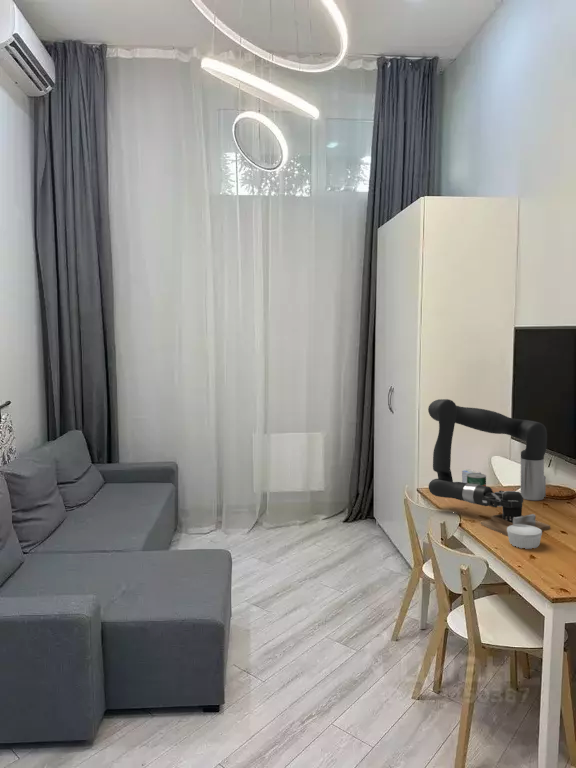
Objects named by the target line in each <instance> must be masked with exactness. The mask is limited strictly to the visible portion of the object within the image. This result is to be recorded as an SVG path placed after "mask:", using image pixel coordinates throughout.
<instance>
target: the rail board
mask: <svg viewBox="0 0 576 768" xmlns="http://www.w3.org/2000/svg"><path fill="white" fill-rule="evenodd" d="M480 524H482V525H481V526H483V525H484V526H483V527H485V526H486V528H487V527H488V528H487V529H490V530H492V531H494V532H497V533H499V534H501V533H502V535H504V536H506V537H508V532H507V527H508V526H511V525H529V526H534V527H537V528H539V529H541V530H542V531H545V530H551V525H550V524H548V523H545V522H542V521H539V520H536V514H534V513H531V514H527V515H523V514H522V516H520V517H515V518H513V523H511V522H509V521H506V520H504V519H503V513H499V514H493V515H491V516H490V519H487V520H481V521H480Z"/></svg>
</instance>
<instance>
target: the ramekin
mask: <svg viewBox="0 0 576 768" xmlns="http://www.w3.org/2000/svg"><path fill="white" fill-rule="evenodd" d="M507 532H508V536H507V537H508V542H509V544H510V545H511V544H512V545H511V546H513V547H515V546H516V547H515V548H518V547H519V548H518V549H522V548H525V549H524V550H533V549H532V548H534V549H536V548H538V547H539V546H540V544H541V539H542V535H543V530H541V529H539V528H537V527H534V526H529V525H511V526H508V527H507Z"/></svg>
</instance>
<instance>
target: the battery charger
mask: <svg viewBox="0 0 576 768" xmlns="http://www.w3.org/2000/svg"><path fill="white" fill-rule="evenodd" d="M504 491H505V492H503V494H502V500H505V501H510V502H512V508H507V507H503V506H501V507H502V509H501V510H502V514H503V519H504V520H506V521H509V522H511V523H513V518H515V517H520V516H522V515H523V503H522V494H521V491H515V490H504Z"/></svg>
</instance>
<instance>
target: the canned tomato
mask: <svg viewBox="0 0 576 768" xmlns="http://www.w3.org/2000/svg"><path fill="white" fill-rule="evenodd" d="M467 483H468V484H477V485H482V486H487V475H486V474H484V473H481V474H480V473H470V474H467Z"/></svg>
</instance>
